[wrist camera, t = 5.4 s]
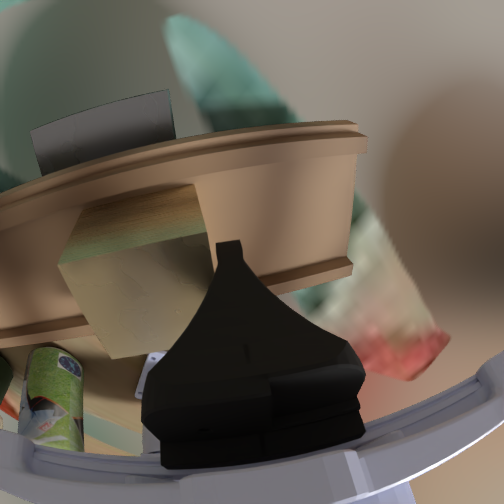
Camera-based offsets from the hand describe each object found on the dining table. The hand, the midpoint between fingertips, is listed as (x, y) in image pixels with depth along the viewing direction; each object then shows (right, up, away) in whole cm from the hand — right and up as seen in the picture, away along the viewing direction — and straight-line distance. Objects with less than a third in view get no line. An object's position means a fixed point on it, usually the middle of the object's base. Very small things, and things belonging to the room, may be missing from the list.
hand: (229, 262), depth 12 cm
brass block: (-4, +1, +1) cm, 4 cm away
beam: (-7, +1, +3) cm, 7 cm away
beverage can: (-17, -10, +12) cm, 23 cm away
